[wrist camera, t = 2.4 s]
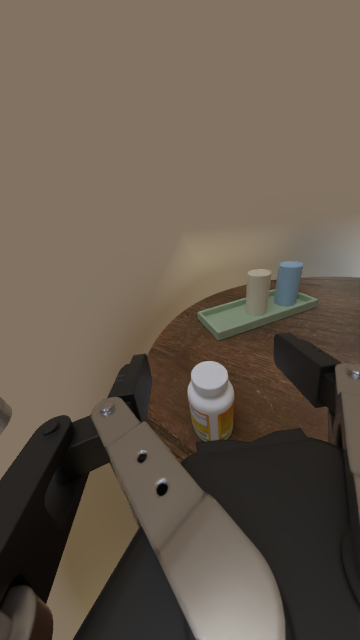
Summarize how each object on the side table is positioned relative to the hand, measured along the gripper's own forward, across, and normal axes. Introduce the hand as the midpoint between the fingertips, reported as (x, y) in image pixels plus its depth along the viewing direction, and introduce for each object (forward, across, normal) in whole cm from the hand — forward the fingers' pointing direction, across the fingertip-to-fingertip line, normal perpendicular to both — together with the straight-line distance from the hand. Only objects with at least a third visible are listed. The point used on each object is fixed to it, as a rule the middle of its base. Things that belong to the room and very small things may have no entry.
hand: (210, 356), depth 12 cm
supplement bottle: (+9, 0, +16) cm, 18 cm away
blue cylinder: (+37, -26, +10) cm, 46 cm away
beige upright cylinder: (+34, -17, +10) cm, 40 cm away
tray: (+34, -17, +11) cm, 40 cm away
